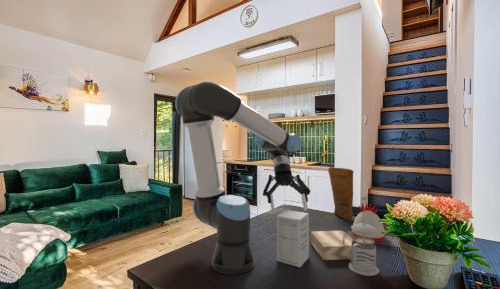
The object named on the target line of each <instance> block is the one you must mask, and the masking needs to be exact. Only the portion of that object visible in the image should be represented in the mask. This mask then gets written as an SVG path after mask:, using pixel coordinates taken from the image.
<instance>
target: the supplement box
mask: <svg viewBox="0 0 500 289" xmlns="http://www.w3.org/2000/svg"><path fill="white" fill-rule="evenodd" d="M309 216H310V214H309V212H302V211H296V210H290V209H285V210H284V211H282V212H281V213H279V214H277V215H276V262H280V263H283V264H286V265H290V266H294V267H296V268H297V267H298V268H301V267H302V266H303V265H304V264H305V263H306V261H307V260H308V259H309V258H310V225H309V224H310V220H309V219H310V217H309Z"/></svg>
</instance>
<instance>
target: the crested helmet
mask: <svg viewBox="0 0 500 289" xmlns="http://www.w3.org/2000/svg"><path fill="white" fill-rule="evenodd" d="M358 208H359V211H360V212H359V213H358V214H357V216H355V217H354V218H353V224H352V226H353V225H354V224H358V223H363V217H364V223H365V224H368V225H371V226H373V227H374V228H375V229H376V230H377V232H376V233H374V234H364V237H367V238H371V239H373V240H374V241H375V243H377V242H378V241H379V242H383V241H385V240H384V239H386V234H385V235H384V234H382V233H380V232H382V231H385V227H384V224H383V222H382V223H380V222H379V220H381V218H380V217H379V215H377V212H378V211H379V210H378V209H376V210H375V206H373V207H372V204H371V203H369V207H368V203H367V202H366V203H365V205H364V202H362V203H361V206H360V205H359V204H358ZM351 232H352V233H353V236H352V237H356V236H361V237H363V233H359V232H356V231H354V230H352V229H351ZM382 240H383V241H382Z"/></svg>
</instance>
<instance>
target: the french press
mask: <svg viewBox="0 0 500 289" xmlns="http://www.w3.org/2000/svg"><path fill="white" fill-rule="evenodd" d="M360 198H361V201H367V200H368V198H367V196H365V195H362V196H361V197H360ZM350 226H351V227H350V228H351V230H348V231H347V232H345V235H346V234H347V235H348V236H349V235H350V237H351V238H352V239H353V241H352V251H350V252H351V253H350V252H349V253H350V254H351V259H350V262H349V263H348V268H349V270H351V271H353V273H356V274H358V275H361V276H367V277H369V276H371V277H373V276H376V275H378V274H379V273H380V269H379V268H378V267H377V266H376V265H377V263H376V262H377V245H376V244H375V243H376V242H375V241H374V240H373V239H371V238H367V237H364V234H374V233H376V232H377V230H376V229H375V228H374V227H373V226H371V225H368V224H365V223H364V217H363V223H358V224H354V225H353V224H352V225H350ZM352 230H354V231H356V232H359V233H363V237H361V236H356V237H354V236H353V233H352ZM345 235H344V236H345ZM347 235H346V236H347ZM344 236H343V245H344V242H345V239H344ZM346 236H345V238H346ZM356 243H357V244H359V245H355V246H353V245H354V244H356ZM357 246H358V247H360V248H358V247H357ZM344 247H345V245H344ZM345 250H346V251H347V250H348V249H346V248H345ZM348 251H349V250H348ZM348 251H347V252H348ZM357 253H358V254H357Z"/></svg>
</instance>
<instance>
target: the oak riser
mask: <svg viewBox="0 0 500 289" xmlns="http://www.w3.org/2000/svg"><path fill="white" fill-rule="evenodd" d="M345 233H346V232H345V231H344V230H321V231H319V230H318V231H317V230H316V231H315V230H313V231H310V244H311V245H312V246H313V248H314V249H315V251H316V253H317V254H318V255H319V256H320V257H321V259H322V260H323V261H336V260H351V254H350V253H351V252H350V251H352V241H353V239H352V238H353V237H352V236H351V235H349V234H348V233H347V234H348V235H347V234H346V235H347V236H346V235H345ZM344 235H345V236H346V238H345V236H344ZM343 236H344V239H345V242H344V245H345V247H344V245H343ZM355 245H360V244H357V243H356V244H354V245H353V246H355ZM357 247H358V246H357ZM345 248H346V249H348V250H349V251H348V250H347V251H348V252H347V251H346V250H345ZM358 248H361V247H358ZM349 252H350V253H349ZM357 254H358V253H357Z"/></svg>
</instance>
